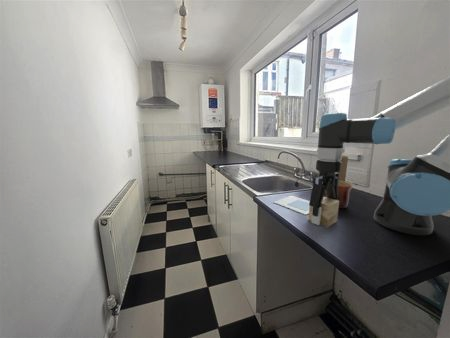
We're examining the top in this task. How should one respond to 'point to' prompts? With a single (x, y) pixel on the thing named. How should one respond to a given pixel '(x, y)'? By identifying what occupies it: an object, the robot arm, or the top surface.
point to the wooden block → (342, 169)
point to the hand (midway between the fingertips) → (322, 219)
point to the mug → (343, 193)
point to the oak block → (327, 211)
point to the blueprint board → (295, 204)
